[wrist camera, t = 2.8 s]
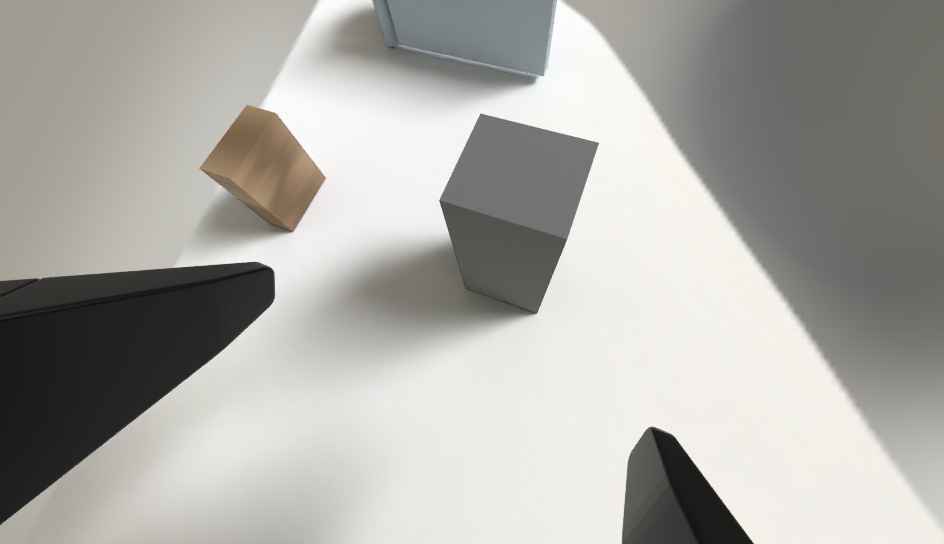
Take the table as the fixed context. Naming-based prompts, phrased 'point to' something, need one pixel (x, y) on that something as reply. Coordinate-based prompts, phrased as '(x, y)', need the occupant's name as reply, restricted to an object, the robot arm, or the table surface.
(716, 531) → the robot arm
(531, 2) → the door
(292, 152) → the wooden blocks
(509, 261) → the tall gray pillar
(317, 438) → the table surface
